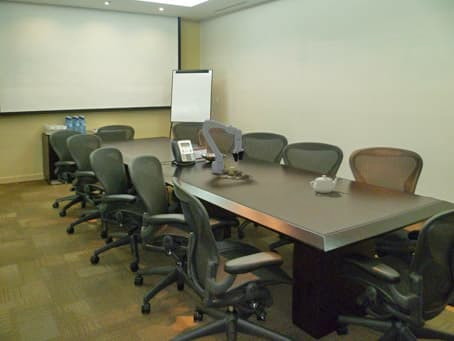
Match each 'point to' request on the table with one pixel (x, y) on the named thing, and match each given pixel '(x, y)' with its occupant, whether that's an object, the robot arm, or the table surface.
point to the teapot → (324, 184)
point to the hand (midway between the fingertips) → (238, 161)
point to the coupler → (232, 170)
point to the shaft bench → (226, 175)
